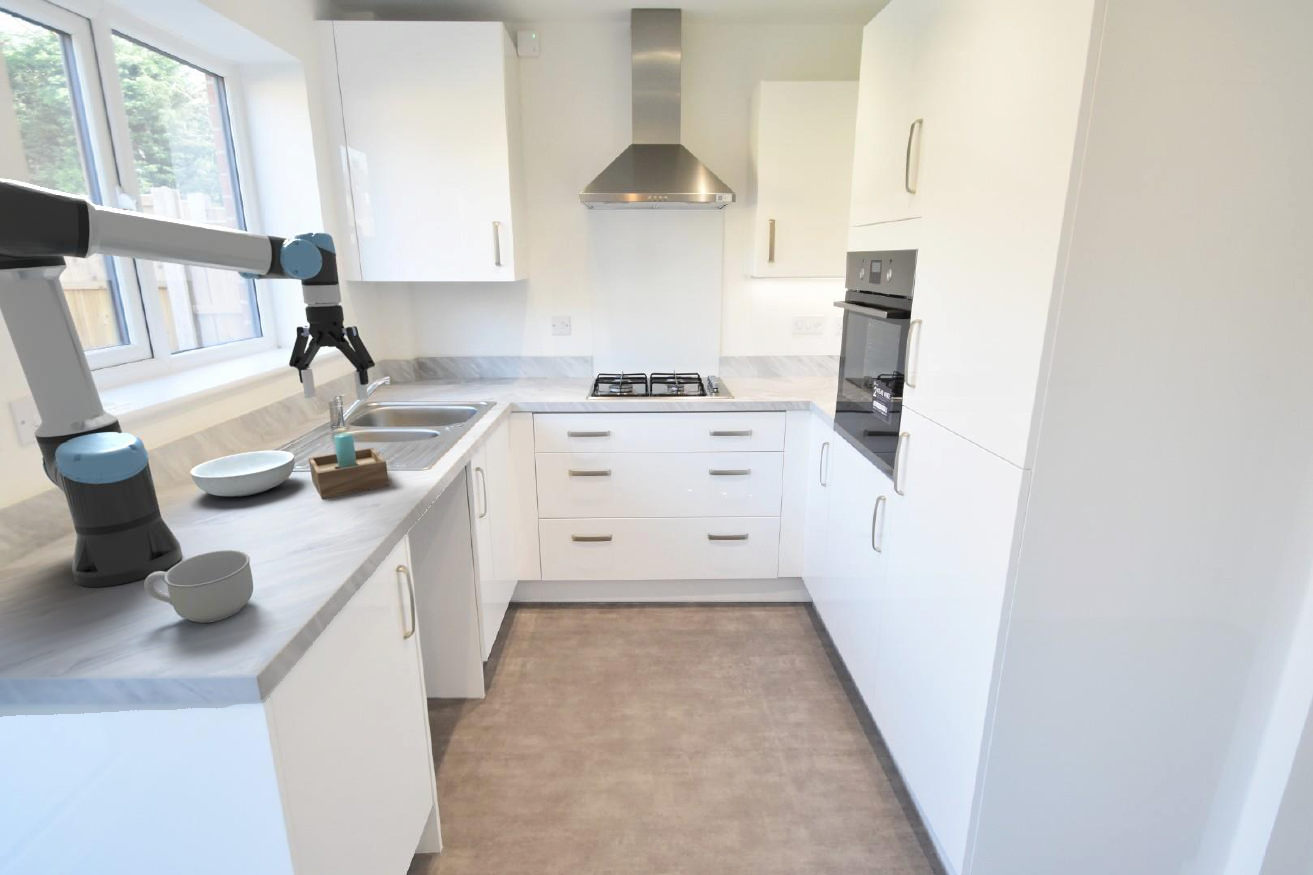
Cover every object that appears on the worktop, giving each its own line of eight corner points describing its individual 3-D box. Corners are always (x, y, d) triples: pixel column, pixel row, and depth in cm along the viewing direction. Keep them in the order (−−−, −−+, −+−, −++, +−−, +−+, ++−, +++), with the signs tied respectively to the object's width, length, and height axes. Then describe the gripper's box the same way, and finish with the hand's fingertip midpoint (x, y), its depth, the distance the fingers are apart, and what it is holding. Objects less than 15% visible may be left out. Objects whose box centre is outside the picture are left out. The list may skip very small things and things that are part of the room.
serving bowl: (294, 470, 169) (290, 445, 167) (302, 494, 152) (297, 465, 150) (197, 486, 158) (191, 459, 156) (194, 513, 141) (187, 483, 139)
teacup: (271, 593, 106) (263, 548, 104) (232, 630, 96) (221, 581, 93) (184, 596, 106) (173, 551, 103) (134, 634, 95) (121, 584, 93)
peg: (352, 486, 156) (345, 438, 153) (337, 486, 156) (330, 437, 153) (362, 481, 160) (356, 433, 156) (348, 480, 160) (341, 433, 157)
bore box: (389, 485, 156) (386, 461, 155) (321, 498, 148) (317, 473, 147) (375, 470, 168) (372, 447, 166) (312, 481, 160) (308, 458, 158)
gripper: (383, 303, 148) (394, 396, 154) (286, 303, 153) (300, 393, 158) (363, 306, 141) (375, 402, 146) (262, 305, 146) (277, 399, 151)
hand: (336, 398), depth 152 cm, fingers open, 13 cm apart
